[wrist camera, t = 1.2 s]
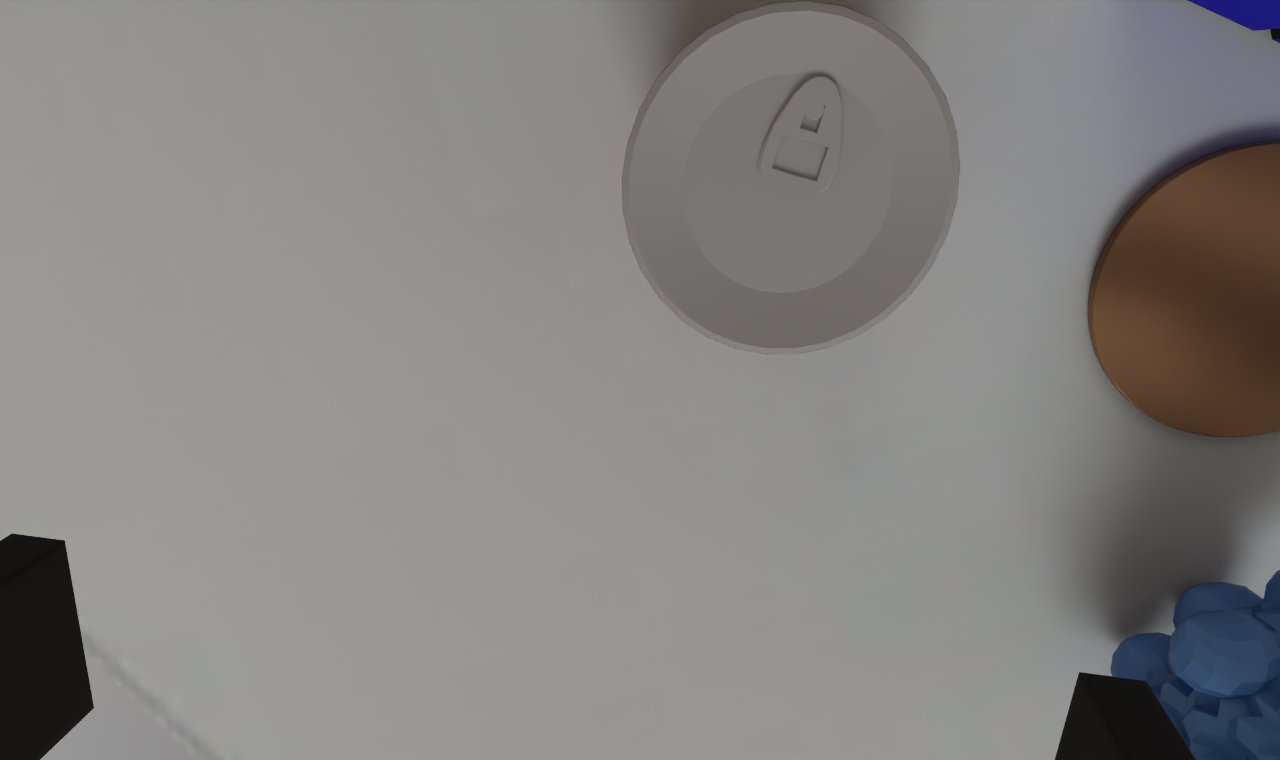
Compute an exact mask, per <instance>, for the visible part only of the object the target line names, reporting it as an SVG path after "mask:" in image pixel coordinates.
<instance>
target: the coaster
mask: <svg viewBox="0 0 1280 760" xmlns="http://www.w3.org/2000/svg"><path fill="white" fill-rule="evenodd" d="M1088 322H1089V329H1090V336H1091V341H1092V344H1093V347H1094V351H1095V354H1096V357H1097V359H1098V361H1099V363H1100V365H1101V367H1102V369H1103V371H1104V372H1105V374H1106V375H1107V377H1108V378H1109V380H1110V381H1111V383H1112V384H1113V385H1114V387H1115V388H1116V389H1117V390H1118V391H1119V392H1120V393H1121V394H1122V395H1123V396H1124V397H1125V398H1126V399H1127V400H1128V401H1129V402H1131V403H1132V404H1133V405H1134V406H1136V407H1137V408H1138V409H1139V410H1141V411H1142V412H1143V413H1145V414H1147V415H1148V416H1150V417H1152V418H1153V419H1155V420H1157V421H1158V422H1161V423H1163V424H1166V425H1168V426H1170V427H1173V428H1175V429H1179V430H1182V431H1186V432H1190V433H1193V434H1199V435H1206V436H1213V437H1242V436H1255V435H1260V434H1265V433H1270V432H1275V431H1279V430H1280V141H1278V142H1260V143H1253V144H1245V145H1241V146H1237V147H1233V148H1229V149H1225V150H1222V151H1219V152H1216V153H1214V154H1211V155H1208V156H1206V157H1203V158H1200V159H1198V160H1196V161H1195V162H1193V163H1191V164H1189V165H1187V166H1185V167H1183V168H1181V169H1179V170H1178V171H1176V172H1175V173H1173V174H1171V175H1170V176H1168V177H1167V178H1165V179H1164V180H1162V181H1161V182H1160V183H1158V184H1157V185H1156V186H1155V187H1154V188H1152V189H1151V190H1150V191H1149V192H1148V193H1146V194H1145V195H1144V196H1143V197H1142V198H1141V199H1140V200H1139V201H1138V202H1137V203H1136V204H1135V205H1134V206H1133V207H1132V208H1131V209H1130V210H1129V211H1128V213H1127V214H1126V215H1125V217H1124V218H1123V219H1122V221H1121V222H1120V223H1119V224H1118V226H1117V227H1116V228H1115V230H1114V232H1113V233H1112V235H1111V237H1110V238H1109V240H1108V242H1107V243H1106V245H1105V247H1104V249H1103V252H1102V254H1101V256H1100V258H1099V261H1098V263H1097V265H1096V269H1095V272H1094V276H1093V279H1092V283H1091V288H1090V295H1089V302H1088Z"/></svg>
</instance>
